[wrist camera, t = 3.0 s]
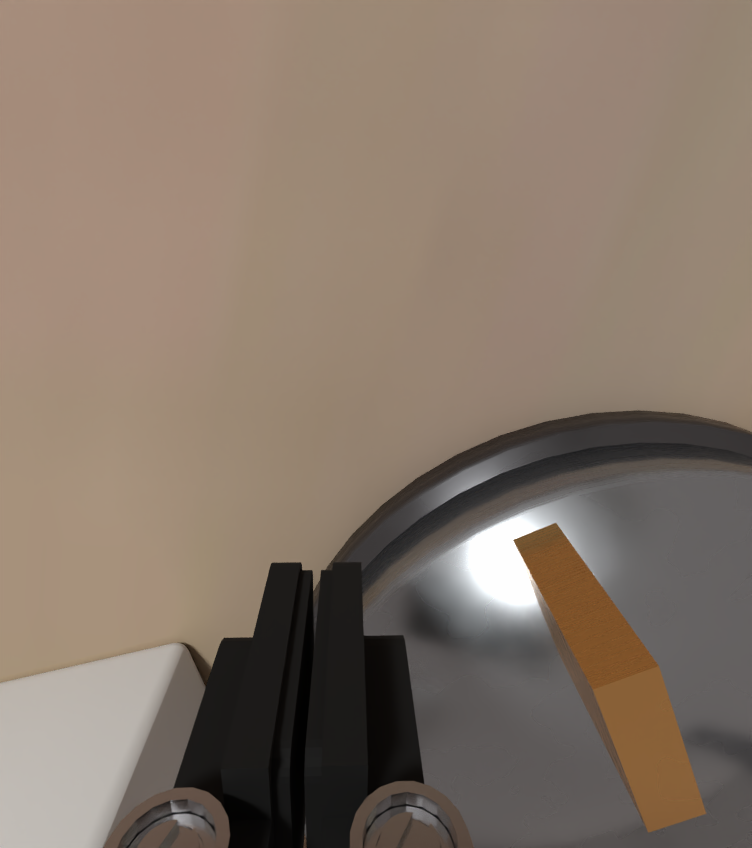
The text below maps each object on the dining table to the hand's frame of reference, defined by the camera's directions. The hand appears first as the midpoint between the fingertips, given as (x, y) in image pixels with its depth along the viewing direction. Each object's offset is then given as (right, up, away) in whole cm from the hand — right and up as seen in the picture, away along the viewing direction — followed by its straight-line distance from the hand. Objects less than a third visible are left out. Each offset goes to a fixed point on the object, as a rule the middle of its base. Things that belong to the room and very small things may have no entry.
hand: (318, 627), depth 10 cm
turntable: (+8, -5, +6) cm, 11 cm away
